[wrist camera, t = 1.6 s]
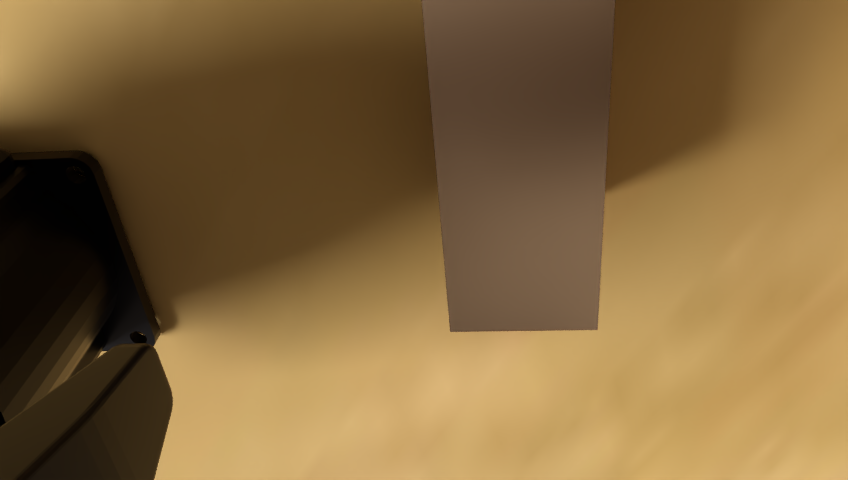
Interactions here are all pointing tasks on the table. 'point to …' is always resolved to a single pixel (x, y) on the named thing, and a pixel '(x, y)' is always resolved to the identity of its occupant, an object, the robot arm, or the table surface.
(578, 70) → the brown angular piece
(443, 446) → the table surface
